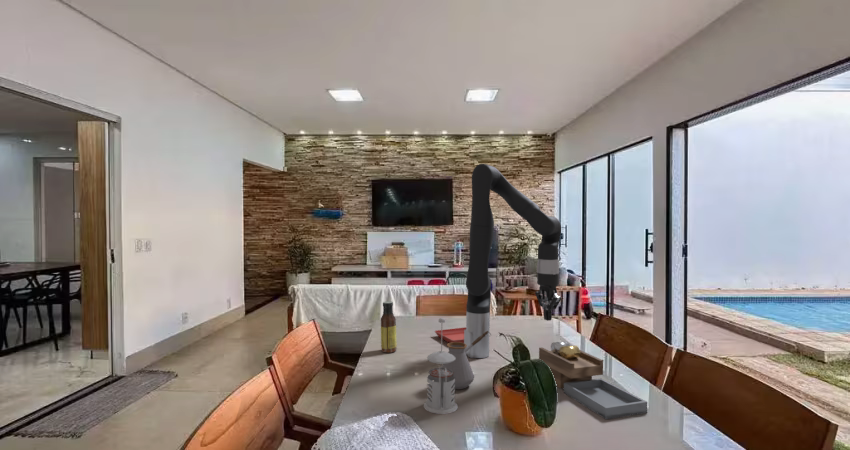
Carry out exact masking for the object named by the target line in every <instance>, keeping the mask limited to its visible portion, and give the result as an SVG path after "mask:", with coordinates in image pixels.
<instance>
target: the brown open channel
mask: <svg viewBox="0 0 850 450" xmlns="http://www.w3.org/2000/svg"><path fill="white" fill-rule="evenodd" d="M579 350H580V349H579ZM538 353H539V354H538V360H539V359H541V360H543V361H544V362H545V363H546V364H547V365H548V366H549V367H550V369H551V371H552V373H553V375H554V378H555V381H556V384H557V386H556V387H557V388H559V389H560V388H561V389H564V383H568V382H576V381H584V380H592V379H593V377H596V376H603V375H604V359H601V358H599V357H597V356H594V355H592V354H590V353H589V352H588V353H587V352H586V351H583V350H580V357H579V358H572V359H564V358H562V357H561V356H560V354H558V355H556V354H554V353H552V351H551V350H548V349H546V348H544V347H539V348H538Z"/></svg>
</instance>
